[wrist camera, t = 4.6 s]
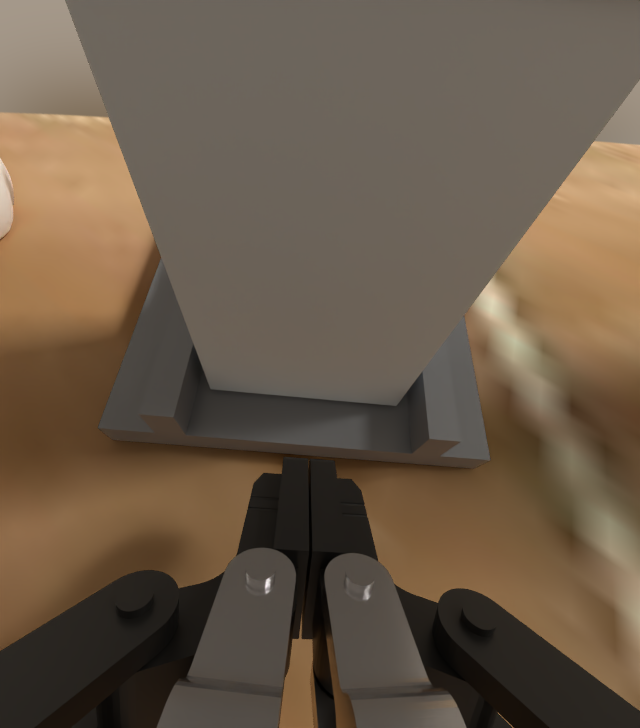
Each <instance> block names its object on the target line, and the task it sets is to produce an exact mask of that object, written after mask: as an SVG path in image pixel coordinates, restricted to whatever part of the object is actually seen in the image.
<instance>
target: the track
mask: <svg viewBox="0 0 640 728" xmlns="http://www.w3.org/2000/svg"><path fill="white" fill-rule="evenodd" d="M98 429H99V430H101V431H102V432H103V433H104V434H106V435H107V436H108V437H110V438H111V439H112V440H121V441H134V442H146V443H159V444H171V445H184V446H196V447H209V448H221V449H234V450H246V451H259V452H272V453H284V454H297V455H309V456H322V457H334V458H347V459H359V460H372V461H384V462H397V463H409V464H422V465H434V466H447V467H459V468H472V469H474V468H476V467H478V466H480V465H482V464H484V463H486V462H488V461H490V454H489V449H488V443H487V438H486V432H485V427H484V421H483V416H482V411H481V405H480V400H479V394H478V389H477V383H476V378H475V372H474V367H473V362H472V356H471V351H470V345H469V340H468V334H467V329H466V323H465V318H464V316H463V317H462V319H461V320H460V321H459V323H458V324H457V325H456V327H455V328H454V329H453V331H452V332H451V333H450V335H449V336H448V337H447V339H446V340H445V341H444V343H443V344H442V345H441V347H440V348H439V349H438V351H437V352H436V353H435V355H434V356H433V358H432V359H431V360H430V362H429V363H428V364H427V366H426V367H425V368H424V370H423V371H422V372H421V374H420V375H419V376H418V378H417V379H416V380H415V382H414V383H413V384H412V386H411V387H410V388H409V390H408V391H407V392H406V394H405V395H404V396H403V398H402V399H401V400H400V402H399V403H398V404H397V406H391V405H380V404H369V403H358V402H346V401H335V400H324V399H313V398H302V397H291V396H280V395H269V394H258V393H247V392H236V391H225V390H214V389H210V386H209V384H208V381H207V378H206V376H205V373H204V370H203V368H202V365H201V362H200V360H199V357H198V354H197V352H196V349H195V346H194V344H193V341H192V338H191V336H190V333H189V330H188V328H187V325H186V322H185V320H184V317H183V314H182V312H181V309H180V306H179V304H178V301H177V298H176V295H175V293H174V290H173V287H172V285H171V282H170V279H169V277H168V274H167V271H166V269H165V266H164V263H163V261H162V258H161V260H160V263H159V265H158V268H157V271H156V273H155V276H154V279H153V281H152V284H151V287H150V289H149V292H148V295H147V297H146V300H145V303H144V305H143V308H142V311H141V313H140V316H139V319H138V321H137V324H136V327H135V329H134V332H133V335H132V337H131V340H130V343H129V345H128V348H127V351H126V353H125V356H124V359H123V361H122V364H121V367H120V369H119V372H118V375H117V377H116V380H115V383H114V385H113V388H112V391H111V393H110V396H109V399H108V401H107V404H106V407H105V409H104V412H103V415H102V418H101V420H100V423H99V426H98Z"/></svg>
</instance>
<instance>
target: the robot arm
mask: <svg viewBox="0 0 640 728" xmlns="http://www.w3.org/2000/svg"><path fill="white" fill-rule="evenodd" d="M301 614H302V639H313V661H312V669H311V676H310V685H311V698H312V712H313V725H314V728H512V727H511V726H510V725H509V724H508V723H507V722H506V721H505V720H504V719H503V718H502V717H501V716H500V715H499V714H498V713H500V714H501V715H502V716H503V717H504V718H505V719H506V720H507V721H508V722H509V723H510V724H511V725H512V726H513V727H514V728H640V711H639V710H637V709H636V708H635V707H633V706H632V705H631V704H629V703H628V702H627V701H625V700H624V699H623V698H621V697H620V696H619V695H617V694H616V693H615V692H613V691H612V690H611V689H609V688H608V687H607V686H605V685H604V684H603V683H601V682H600V681H599V680H598V679H596V678H595V677H594V676H592V675H591V674H590V673H588V672H587V671H586V670H584V669H583V668H582V667H580V666H579V665H578V664H576V663H575V662H574V661H572V660H571V659H570V658H568V657H567V656H566V655H564V654H563V653H562V652H560V651H559V650H558V649H556V648H555V647H554V646H552V645H551V644H550V643H548V642H547V641H546V640H544V639H543V638H542V637H540V636H539V635H538V634H536V633H535V632H534V631H532V630H531V629H530V628H528V627H527V626H526V625H524V624H523V623H522V622H520V621H519V620H518V619H516V618H515V617H514V616H512V615H511V614H510V613H508V612H507V611H506V610H504V609H503V608H502V607H500V606H499V605H498V604H497V603H495V602H494V601H492V600H491V599H489V598H488V597H486V596H484V595H482V594H480V593H478V592H475V591H472V590H469V589H451V590H449V591H447V592H445V593H444V594H443V595H442V596H441V598H440V600H439V602H438V603H436V602H433V601H430V600H428V599H425V598H422V597H419V596H416V595H413V594H411V593H408V592H406V591H405V590H403V589H401V588H399V587H398V586H397V585H395V584H394V582H393V580H392V577H391V575H390V574H389V572H388V571H387V569H386V568H385V567H384V566H383V565H382V564H380V563H379V562H378V558H377V554H376V550H375V546H374V542H373V538H372V533H371V529H370V525H369V521H368V517H367V513H366V509H365V506H364V500H363V496H362V492H361V490H360V489H359V488H358V486H357V485H356V484H355V483H354V482H353V481H352V479H341V478H337V474H336V467H335V461H333V460H320V459H310V461H309V468H308V459H305V458H292V457H284V459H283V468H282V474H271V473H263V474H262V475H261V476H260V477H259V478H258V479H257V480H256V481H255V482H254V484H253V489H252V493H251V498H250V501H249V506H248V510H247V514H246V518H245V522H244V527H243V531H242V535H241V539H240V543H239V548H238V552H237V555H236V557H234V558H233V559H232V560H231V562H230V563H229V564H228V566H227V568H226V570H225V572H223V573H222V574H221V575H219V576H217V577H216V578H214V579H212V580H209V581H207V582H204V583H200V584H196V585H192V586H188V587H183V588H179V589H178V586H177V584H176V582H175V581H174V579H173V578H172V577H170V576H169V575H168V574H165V573H163V572H160V571H154V570H144V571H138V572H134V573H131V574H128V575H126V576H123V577H121V578H119V579H118V580H116V581H114V582H112V583H111V584H109V585H107V586H106V587H104V588H103V589H101V590H99V591H98V592H96V593H94V594H93V595H91V596H90V597H88V598H86V599H85V600H83V601H81V602H80V603H78V604H77V605H75V606H73V607H72V608H70V609H68V610H67V611H65V612H63V613H62V614H60V615H59V616H57V617H55V618H54V619H52V620H50V621H49V622H47V623H46V624H44V625H42V626H41V627H39V628H37V629H36V630H34V631H32V632H31V633H29V634H28V635H26V636H24V637H23V638H21V639H19V640H18V641H16V642H15V643H13V644H11V645H10V646H8V647H6V648H5V649H3V650H1V651H0V728H279V723H280V714H281V706H282V697H283V689H284V680H285V677H286V675H287V672H288V669H289V664H290V656H291V647H292V639H299V631H300V623H301Z"/></svg>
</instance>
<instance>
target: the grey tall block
mask: <svg viewBox="0 0 640 728" xmlns="http://www.w3.org/2000/svg"><path fill="white" fill-rule="evenodd" d="M65 1H66V4H67V6H68V9H69V11H70V14H71V17H72V20H73V22H74V25H75V28H76V31H77V33H78V36H79V39H80V41H81V44H82V47H83V49H84V52H85V55H86V57H87V60H88V63H89V65H90V68H91V70H92V73H93V76H94V78H95V81H96V84H97V87H98V89H99V92H100V95H101V97H102V100H103V103H104V105H105V108H106V110H107V113H108V116H109V119H110V122H111V124H112V127H113V130H114V132H115V135H116V138H117V140H118V143H119V146H120V148H121V151H122V154H123V156H124V159H125V162H126V164H127V167H128V170H129V172H130V175H131V178H132V180H133V183H134V186H135V188H136V191H137V194H138V196H139V199H140V202H141V204H142V207H143V210H144V213H145V215H146V218H147V221H148V223H149V226H150V229H151V231H152V234H153V237H154V239H155V242H156V245H157V247H158V250H159V253H160V255H161V258H162V261H163V263H164V266H165V269H166V271H167V274H168V277H169V279H170V282H171V285H172V287H173V290H174V293H175V295H176V298H177V301H178V304H179V306H180V309H181V312H182V314H183V317H184V320H185V322H186V325H187V328H188V330H189V333H190V336H191V338H192V341H193V344H194V346H195V349H196V352H197V354H198V357H199V360H200V362H201V365H202V368H203V370H204V373H205V376H206V378H207V381H208V384H209V386H210V389H214V390H225V391H236V392H247V393H258V394H269V395H280V396H291V397H302V398H313V399H324V400H335V401H346V402H358V403H369V404H380V405H391V406H397V404H398V403H399V402H400V400H401V399H402V398H403V396H404V395H405V394H406V392H407V391H408V390H409V388H410V387H411V386H412V384H413V383H414V382H415V380H416V379H417V378H418V376H419V375H420V374H421V372H422V371H423V370H424V368H425V367H426V366H427V364H428V363H429V362H430V360H431V359H432V358H433V356H434V355H435V353H436V352H437V351H438V349H439V348H440V347H441V345H442V344H443V343H444V341H445V340H446V339H447V337H448V336H449V335H450V333H451V332H452V331H453V329H454V328H455V327H456V325H457V324H458V323H459V321H460V320H461V319H462V317H463V316H464V315H465V313H466V312H467V311H468V309H469V308H470V307H471V305H472V304H473V303H474V301H475V300H476V298H477V297H478V296H479V294H480V293H481V292H482V290H483V289H484V288H485V286H486V285H487V284H488V282H489V281H490V280H491V278H492V277H493V276H494V274H495V273H496V272H497V270H498V269H499V268H500V266H501V265H502V264H503V262H504V261H505V260H506V258H507V257H508V256H509V254H510V253H511V252H512V250H513V249H514V248H515V246H516V245H517V244H518V242H519V241H520V239H521V238H522V237H523V235H524V234H525V233H526V231H527V230H528V229H529V227H530V226H531V225H532V223H533V222H534V221H535V219H536V218H537V217H538V215H539V214H540V213H541V211H542V210H543V209H544V207H545V206H546V205H547V203H548V202H549V201H550V199H551V198H552V197H553V195H554V194H555V193H556V191H557V190H558V189H559V187H560V186H561V185H562V183H563V182H564V180H565V179H566V178H567V176H568V175H569V174H570V172H571V171H572V170H573V168H574V167H575V166H576V164H577V163H578V162H579V160H580V159H581V158H582V156H583V155H584V154H585V152H586V151H587V150H588V148H589V147H590V146H591V144H592V143H593V142H594V140H595V139H596V137H597V136H598V135H599V134H600V132H601V131H602V130H603V128H604V127H605V125H606V124H607V123H608V121H609V120H610V119H611V117H612V116H613V115H614V113H615V112H616V111H617V109H618V108H619V107H620V105H621V104H622V103H623V101H624V100H625V99H626V97H627V96H628V95H629V93H630V92H631V91H632V89H633V88H634V86H635V85H636V84H637V83H638V81H639V80H640V0H65Z"/></svg>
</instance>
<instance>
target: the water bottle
mask: <svg viewBox="0 0 640 728" xmlns="http://www.w3.org/2000/svg"><path fill="white" fill-rule="evenodd" d="M13 205H14V194H13V185H12V181H11V178H10V175H9V173H8V171H7V169H6V167H5V165H4V164H3V162H2V160H1V159H0V239H1V238H2V237H4V236H5V235H6V234H7V233H8V232H9V231H10V228H11V224H12V222H13Z"/></svg>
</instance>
